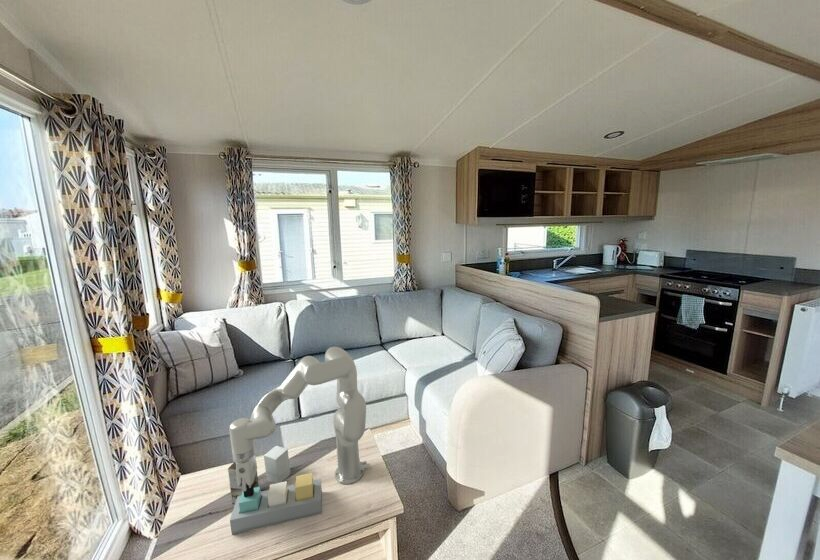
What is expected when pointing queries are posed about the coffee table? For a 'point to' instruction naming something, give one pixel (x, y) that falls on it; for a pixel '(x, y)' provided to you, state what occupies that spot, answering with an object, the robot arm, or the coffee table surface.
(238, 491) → the coffee box
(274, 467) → the supplement box
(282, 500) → the ivory key
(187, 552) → the coffee table surface
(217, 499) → the coffee table surface
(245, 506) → the teal key
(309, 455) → the coffee table surface
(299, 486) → the mustard key
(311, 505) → the key console
